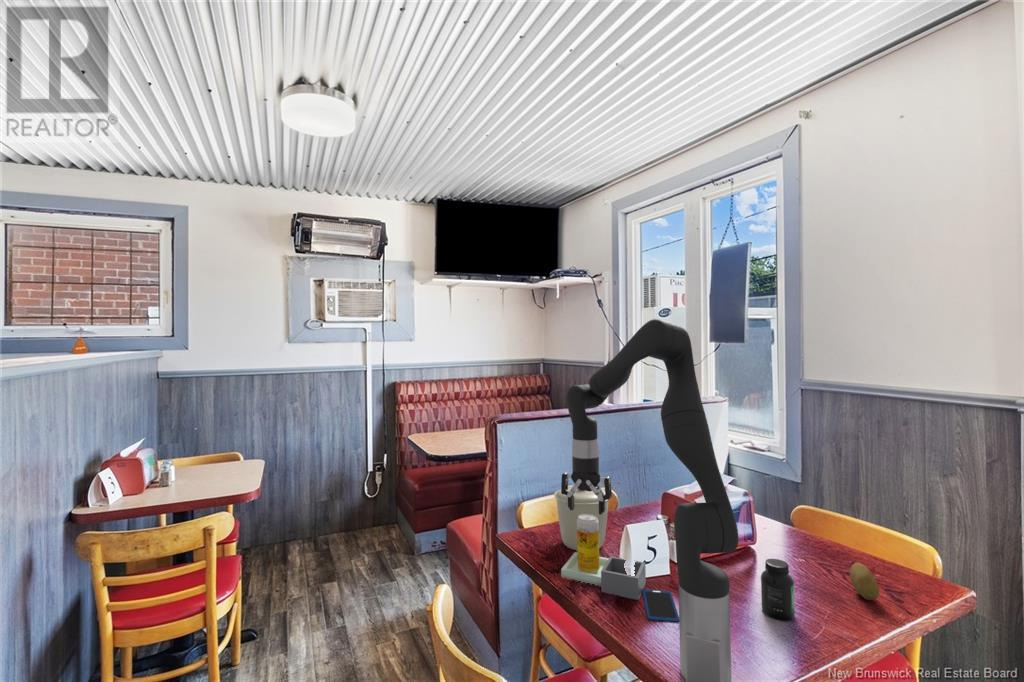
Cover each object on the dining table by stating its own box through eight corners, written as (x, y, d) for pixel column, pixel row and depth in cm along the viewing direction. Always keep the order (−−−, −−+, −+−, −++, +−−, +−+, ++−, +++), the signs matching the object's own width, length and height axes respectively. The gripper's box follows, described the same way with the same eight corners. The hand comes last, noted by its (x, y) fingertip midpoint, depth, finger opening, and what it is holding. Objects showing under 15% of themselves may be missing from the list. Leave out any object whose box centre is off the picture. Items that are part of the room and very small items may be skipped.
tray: (603, 586, 126) (603, 577, 126) (561, 577, 131) (561, 569, 131) (614, 567, 137) (614, 559, 137) (575, 560, 142) (575, 552, 142)
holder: (638, 600, 119) (638, 578, 119) (601, 592, 123) (601, 570, 123) (645, 582, 128) (645, 562, 128) (610, 575, 132) (610, 556, 132)
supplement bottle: (801, 619, 110) (800, 567, 110) (776, 623, 108) (775, 571, 108) (779, 604, 116) (778, 555, 116) (755, 607, 115) (754, 558, 115)
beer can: (574, 572, 133) (573, 518, 133) (582, 563, 138) (581, 512, 138) (595, 576, 130) (594, 522, 130) (602, 567, 135) (601, 515, 135)
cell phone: (670, 593, 123) (670, 590, 123) (680, 624, 109) (680, 621, 109) (641, 591, 124) (641, 588, 124) (647, 622, 110) (647, 618, 110)
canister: (546, 538, 158) (545, 475, 159) (595, 531, 164) (594, 470, 164) (569, 561, 141) (567, 491, 141) (622, 553, 146) (621, 484, 147)
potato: (875, 608, 114) (875, 575, 114) (840, 594, 120) (840, 563, 120) (889, 600, 117) (888, 567, 117) (854, 587, 124) (853, 556, 124)
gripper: (557, 455, 134) (558, 512, 134) (606, 459, 128) (607, 519, 128) (566, 450, 141) (567, 504, 141) (613, 453, 135) (614, 510, 134)
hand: (586, 511), depth 134 cm, fingers open, 8 cm apart
